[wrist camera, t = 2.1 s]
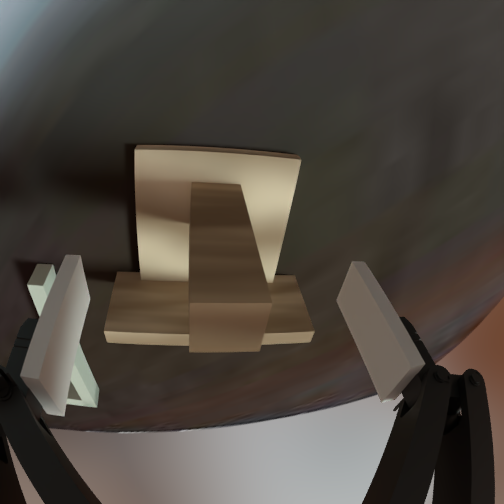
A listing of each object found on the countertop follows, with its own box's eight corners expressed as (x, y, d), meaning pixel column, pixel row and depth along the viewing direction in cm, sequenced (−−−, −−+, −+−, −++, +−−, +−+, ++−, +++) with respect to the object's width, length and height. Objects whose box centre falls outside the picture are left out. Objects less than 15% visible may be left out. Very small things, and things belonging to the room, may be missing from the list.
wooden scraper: (106, 144, 18) (33, 252, 9) (325, 158, 20) (413, 262, 12) (119, 282, 24) (97, 408, 16) (290, 285, 27) (329, 402, 18)
